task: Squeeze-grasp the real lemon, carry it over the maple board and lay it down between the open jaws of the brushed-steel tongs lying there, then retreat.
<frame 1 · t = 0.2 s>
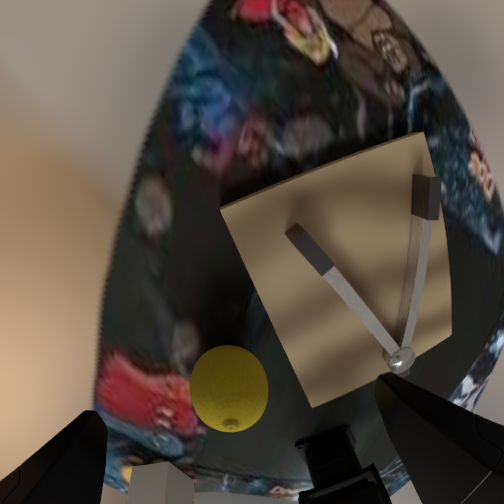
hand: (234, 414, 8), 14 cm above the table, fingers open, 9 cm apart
milk: (163, 472, 29), on the table
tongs: (394, 351, 24), resting on board
board: (365, 283, 23), on the table
lemon: (227, 352, 24), on the table
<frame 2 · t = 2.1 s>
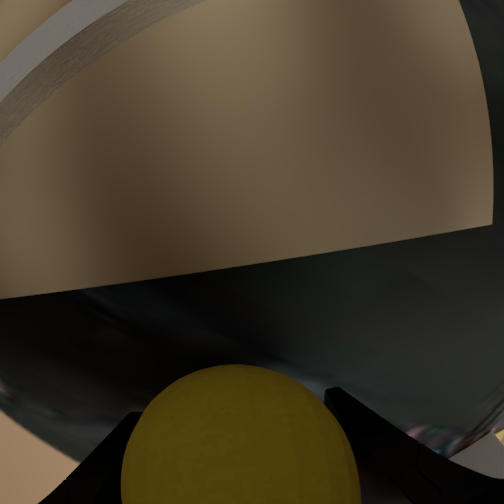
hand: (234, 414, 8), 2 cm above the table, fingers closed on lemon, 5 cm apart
milk: (455, 462, 15), on the table
lemon: (232, 378, 9), on the table, touching gripper
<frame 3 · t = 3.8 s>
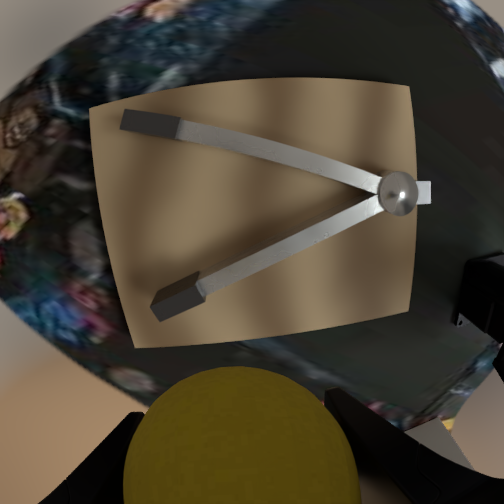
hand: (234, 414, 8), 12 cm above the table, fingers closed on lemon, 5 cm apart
milk: (413, 437, 28), on the table
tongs: (386, 190, 17), resting on board
board: (267, 212, 18), on the table
lemon: (232, 379, 9), point 10 cm above the table, touching gripper
when the fingers open (4 cm above the table, at t = 5.7 s): lemon stays where it is, resting on board.
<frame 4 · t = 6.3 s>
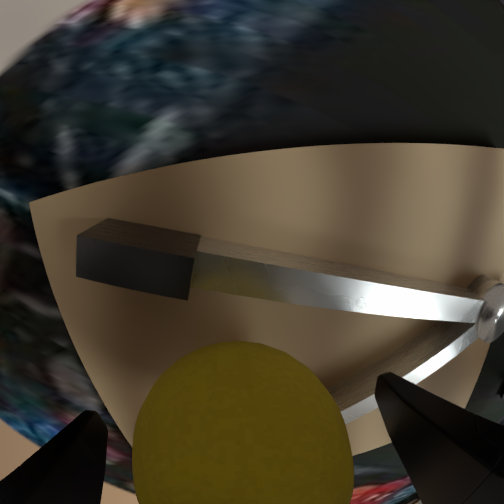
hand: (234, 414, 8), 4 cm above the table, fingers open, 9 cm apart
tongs: (476, 300, 11), resting on board
board: (327, 346, 12), on the table
lemon: (232, 361, 10), point 1 cm above the table, touching board
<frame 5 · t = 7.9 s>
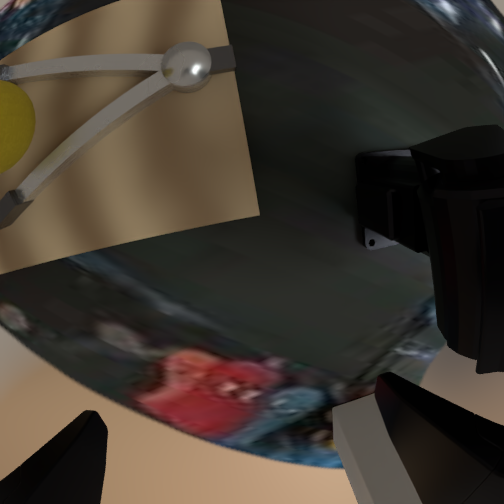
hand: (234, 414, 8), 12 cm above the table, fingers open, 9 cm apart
milk: (359, 414, 25), on the table
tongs: (189, 72, 14), resting on board
board: (81, 125, 15), on the table
lemon: (27, 131, 14), point 1 cm above the table, touching board
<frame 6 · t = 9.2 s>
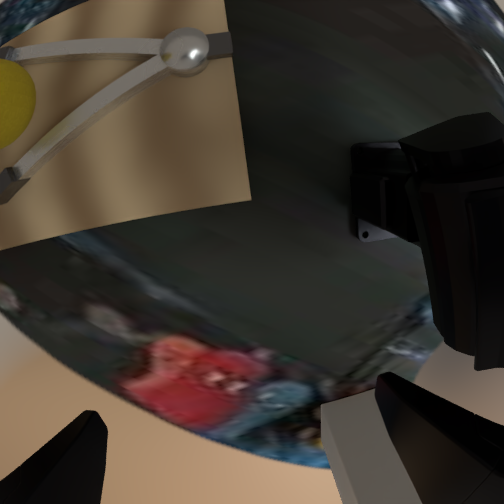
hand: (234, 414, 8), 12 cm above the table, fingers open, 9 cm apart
milk: (348, 413, 25), on the table
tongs: (187, 57, 14), resting on board
board: (81, 107, 15), on the table
lemon: (28, 111, 14), point 1 cm above the table, touching board
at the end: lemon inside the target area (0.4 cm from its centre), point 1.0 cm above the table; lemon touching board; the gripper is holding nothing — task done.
